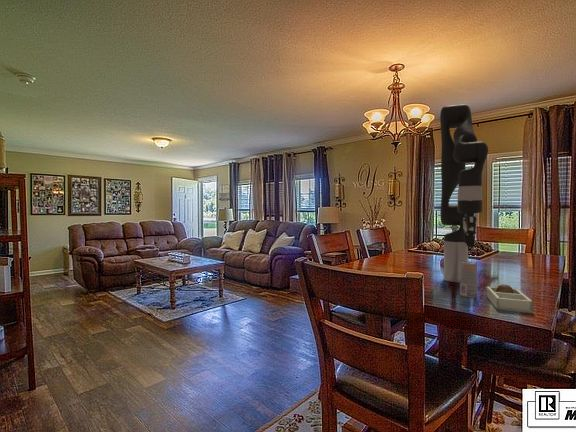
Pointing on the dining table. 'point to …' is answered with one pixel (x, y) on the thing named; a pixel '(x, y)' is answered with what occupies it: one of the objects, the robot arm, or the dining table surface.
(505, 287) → the walnut ball
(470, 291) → the energy drink
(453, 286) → the dining table surface
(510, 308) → the caddy
